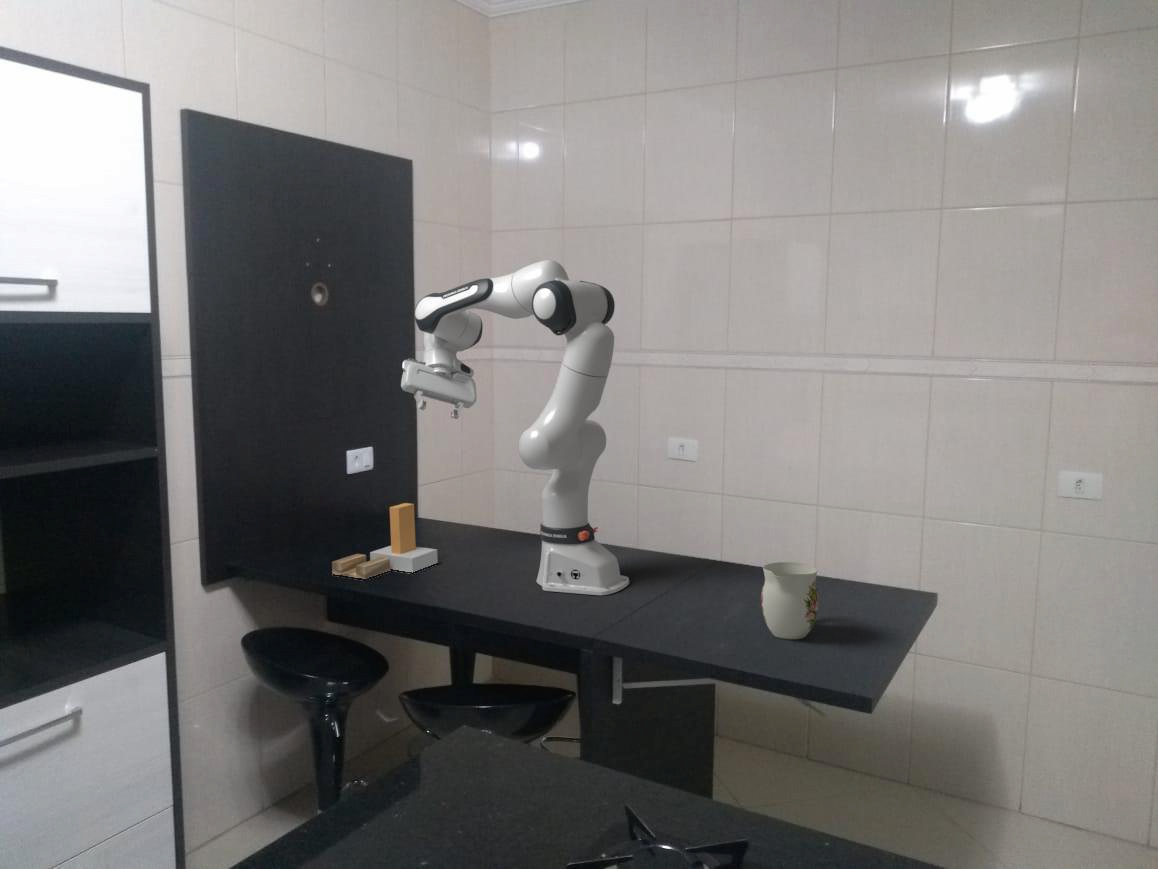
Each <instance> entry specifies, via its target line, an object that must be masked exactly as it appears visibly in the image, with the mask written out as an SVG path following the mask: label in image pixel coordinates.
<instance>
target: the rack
mask: <svg viewBox="0 0 1158 869" xmlns="http://www.w3.org/2000/svg"><path fill="white" fill-rule="evenodd" d="M331 570H332V571H331V572H332V575H333V574H335V575H343V576H348V577H354V578H362V579H367V578H369V577H372V576H376V575H378V574H381V573H384V572H387V571H390V572H391V570H390V558H383V557H379V558H377V559H374V560H371V561H370V560H368V561H367V555H366V554H362V553H356V554H351V555H348V556H345V557H342V558H340V559H337V560H333V561H332V562H331Z"/></svg>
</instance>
